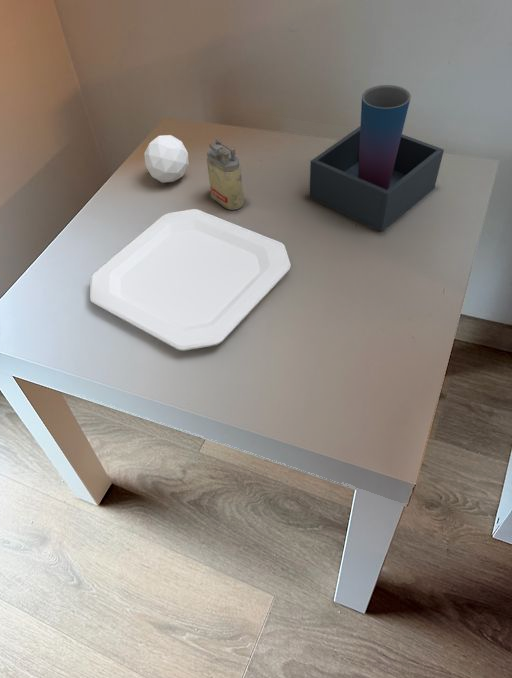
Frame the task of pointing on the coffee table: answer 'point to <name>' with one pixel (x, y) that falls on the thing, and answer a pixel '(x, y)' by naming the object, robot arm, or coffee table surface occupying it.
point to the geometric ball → (166, 158)
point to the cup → (381, 132)
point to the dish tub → (366, 198)
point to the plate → (189, 278)
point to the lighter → (225, 176)
